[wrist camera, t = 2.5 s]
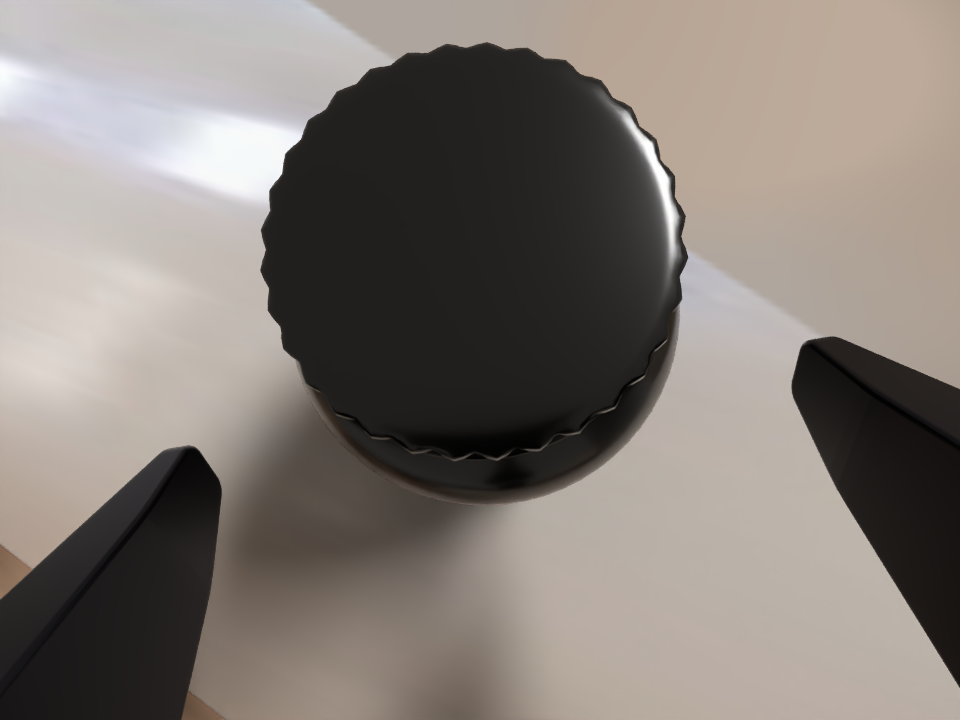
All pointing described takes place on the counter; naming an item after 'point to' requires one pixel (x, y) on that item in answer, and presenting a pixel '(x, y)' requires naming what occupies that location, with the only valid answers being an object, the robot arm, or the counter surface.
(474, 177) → the supplement bottle
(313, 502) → the counter surface
